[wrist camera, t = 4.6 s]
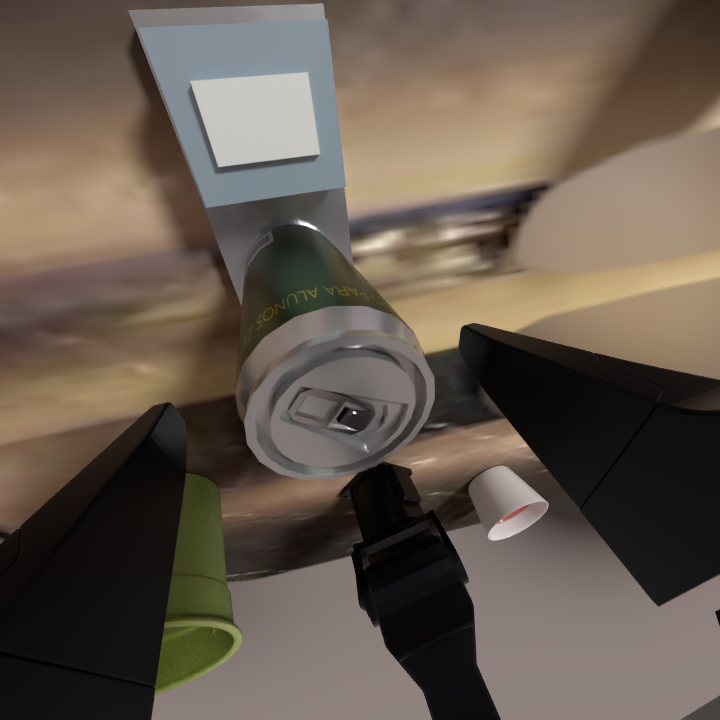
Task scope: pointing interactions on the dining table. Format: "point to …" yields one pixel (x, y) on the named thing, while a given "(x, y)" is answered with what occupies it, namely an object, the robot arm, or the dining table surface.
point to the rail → (254, 218)
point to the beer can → (323, 362)
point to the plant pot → (197, 593)
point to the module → (252, 106)
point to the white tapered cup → (505, 502)
